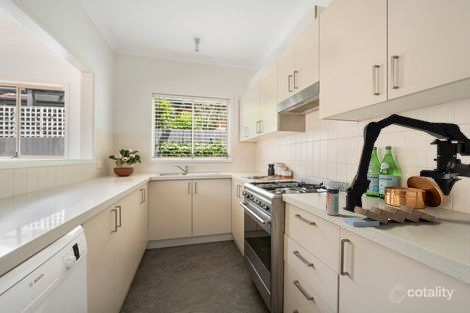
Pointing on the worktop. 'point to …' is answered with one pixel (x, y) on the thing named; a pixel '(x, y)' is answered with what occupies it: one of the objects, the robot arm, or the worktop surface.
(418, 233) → the worktop surface
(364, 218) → the slate domino
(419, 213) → the domino
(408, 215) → the domino
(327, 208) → the beer can
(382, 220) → the domino
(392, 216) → the domino
